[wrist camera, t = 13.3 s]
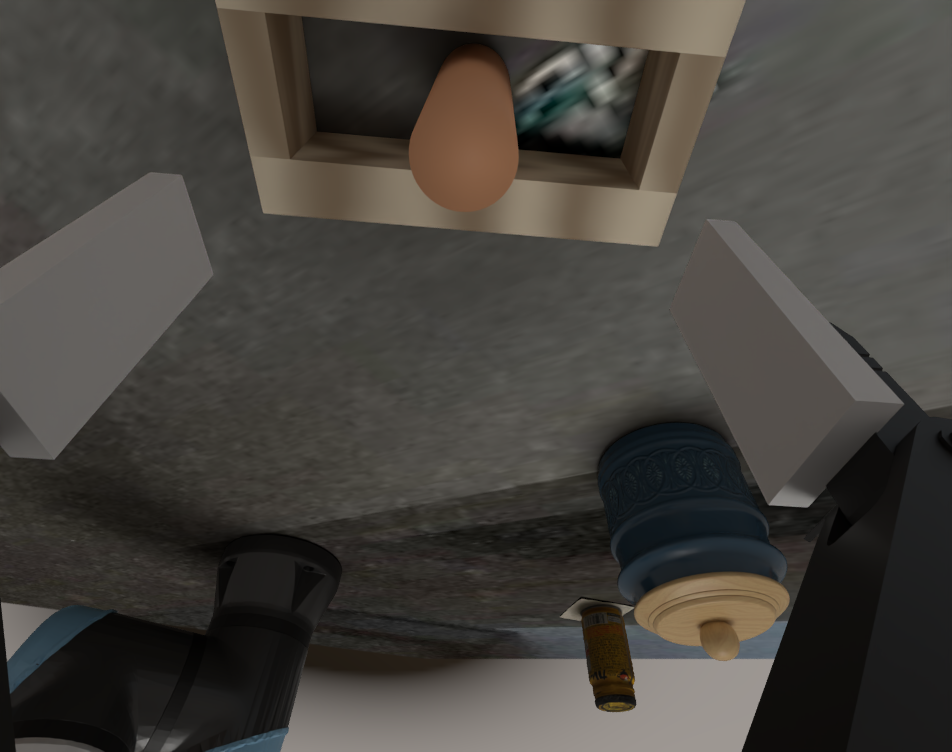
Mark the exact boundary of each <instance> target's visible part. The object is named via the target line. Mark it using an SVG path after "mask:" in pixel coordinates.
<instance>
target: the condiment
mask: <svg viewBox="0 0 952 752" xmlns="http://www.w3.org/2000/svg"><path fill="white" fill-rule="evenodd" d="M596 603H597V604H596ZM633 608H634V607H630V606H626V605H620V604H616V603H614V604H613V603H607V602H606V603H604V602H600V601H595V600H586V599H580V600H579V601H577V602H576V603H575V604H573V605H572V606H571V607H570V608H568V610H567V611H566V612H564V613H563V615H562V616H560V617H561V618H566V619H567V618H568V619H571V620H578V621H581V623H582V628H583V636H584V638H583V639H584V643H585V651H586V659H587V667H588V674H589V681H590V684H591V685H592V686H593V694H594V696H595V704H596V707H597V708H598V709H600V710H602V711H607V712H623V711H628V710H632V709H633V708H635V706H636V700H635V695H634V693H635V691H634V689H633V684H634V681H635V677H634V672H633V667H632V661H631V656H630V650H629V644H628V639H627V634H626V630H625V623H624V619H623V617H622V616H623V615H624V614H626V613H627V612H629V611H630V610H632V609H633ZM577 612H578V613H577ZM579 613H580V614H579Z"/></svg>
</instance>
